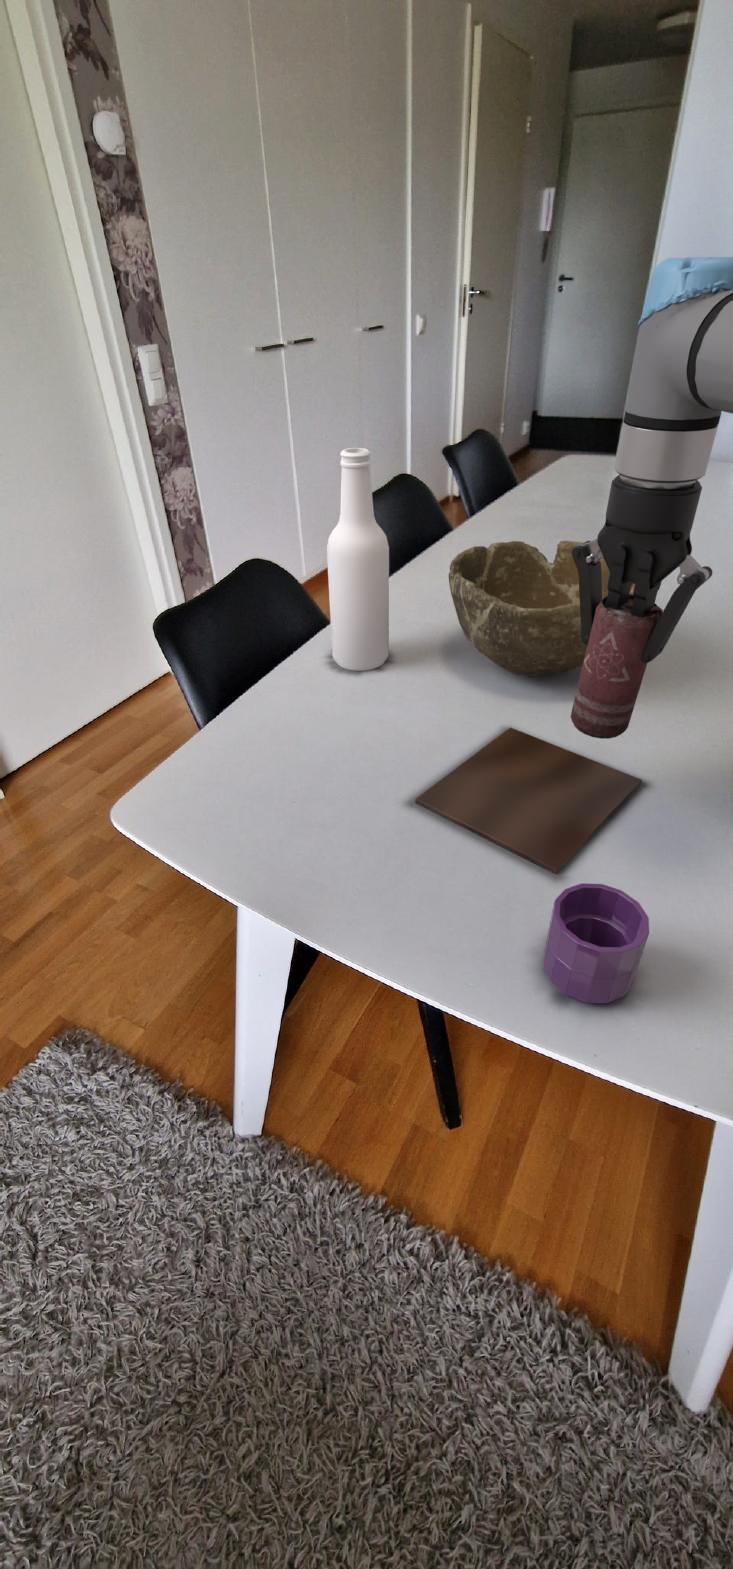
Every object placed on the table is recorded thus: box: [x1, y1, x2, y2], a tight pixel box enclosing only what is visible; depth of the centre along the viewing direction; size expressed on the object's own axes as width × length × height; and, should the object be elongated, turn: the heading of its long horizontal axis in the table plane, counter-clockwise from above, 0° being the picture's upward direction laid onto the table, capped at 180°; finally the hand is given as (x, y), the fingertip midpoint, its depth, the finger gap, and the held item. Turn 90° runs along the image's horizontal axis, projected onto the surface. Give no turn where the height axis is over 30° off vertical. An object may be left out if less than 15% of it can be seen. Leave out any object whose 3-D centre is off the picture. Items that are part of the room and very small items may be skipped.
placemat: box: [414, 727, 643, 875], centre depth 81 cm, size 18×20×1 cm
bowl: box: [447, 540, 635, 678], centre depth 103 cm, size 28×27×15 cm
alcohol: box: [326, 447, 390, 672], centre depth 101 cm, size 9×9×30 cm
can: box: [570, 595, 664, 740], centre depth 72 cm, size 6×6×14 cm
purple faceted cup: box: [542, 883, 650, 1004], centre depth 59 cm, size 7×8×7 cm
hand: (606, 710), depth 75 cm, fingers closed
